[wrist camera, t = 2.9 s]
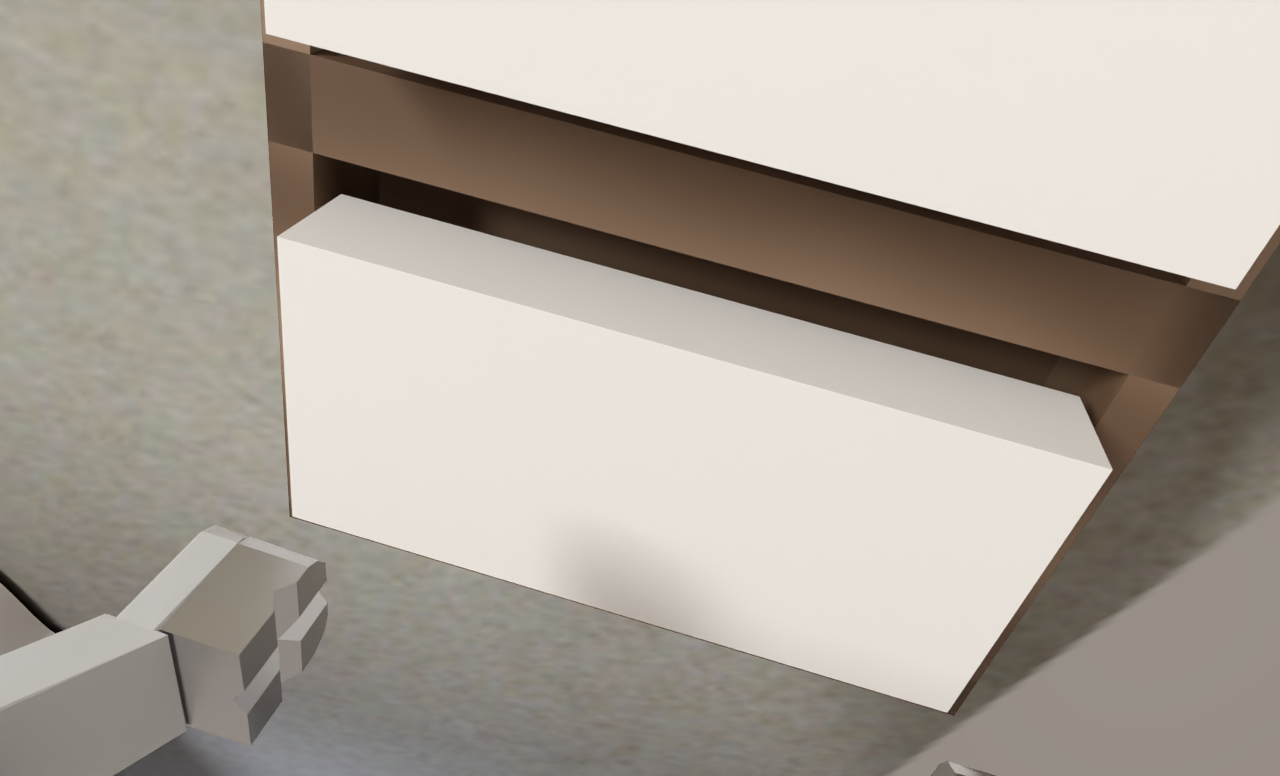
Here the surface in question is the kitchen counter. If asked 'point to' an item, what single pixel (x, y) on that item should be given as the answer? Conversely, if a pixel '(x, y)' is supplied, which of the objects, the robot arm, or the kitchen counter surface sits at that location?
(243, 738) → the robot arm
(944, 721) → the kitchen counter surface
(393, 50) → the switch
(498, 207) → the brown boxy piece
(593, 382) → the switch
